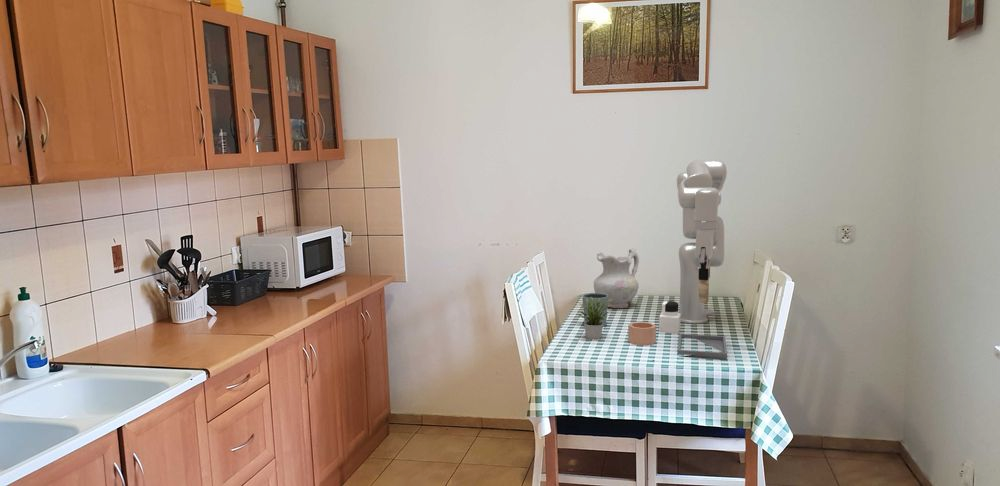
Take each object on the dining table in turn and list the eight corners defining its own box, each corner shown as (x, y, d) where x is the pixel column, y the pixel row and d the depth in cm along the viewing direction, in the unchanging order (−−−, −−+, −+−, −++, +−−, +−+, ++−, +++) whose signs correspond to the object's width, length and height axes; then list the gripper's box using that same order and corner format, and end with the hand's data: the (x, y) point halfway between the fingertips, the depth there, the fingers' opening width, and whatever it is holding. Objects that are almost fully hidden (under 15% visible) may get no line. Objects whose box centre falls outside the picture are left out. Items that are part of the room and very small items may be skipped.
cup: (647, 340, 265) (647, 321, 264) (659, 346, 256) (659, 327, 255) (624, 342, 263) (625, 323, 262) (636, 348, 254) (636, 329, 253)
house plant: (624, 339, 266) (625, 296, 263) (601, 347, 256) (601, 302, 254) (593, 333, 275) (593, 290, 273) (570, 340, 266) (570, 296, 264)
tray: (679, 339, 265) (679, 333, 265) (725, 342, 261) (725, 336, 261) (677, 356, 244) (677, 350, 244) (727, 360, 240) (727, 353, 240)
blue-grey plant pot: (610, 327, 283) (610, 297, 282) (584, 328, 282) (585, 298, 281) (604, 321, 293) (604, 292, 292) (579, 322, 292) (580, 292, 291)
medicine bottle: (680, 331, 277) (680, 300, 275) (678, 336, 270) (679, 304, 268) (661, 329, 279) (661, 299, 277) (658, 334, 272) (659, 303, 271)
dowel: (705, 300, 252) (706, 262, 250) (710, 302, 249) (711, 263, 247) (696, 301, 251) (697, 262, 249) (701, 303, 248) (702, 264, 246)
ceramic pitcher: (616, 300, 336) (613, 247, 334) (651, 304, 321) (648, 248, 319) (586, 308, 321) (582, 252, 319) (621, 312, 307) (618, 254, 305)
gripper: (697, 223, 256) (696, 274, 258) (690, 228, 240) (689, 282, 243) (719, 223, 253) (718, 275, 255) (714, 228, 238) (712, 283, 240)
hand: (704, 278), depth 249 cm, fingers closed on dowel, 3 cm apart
